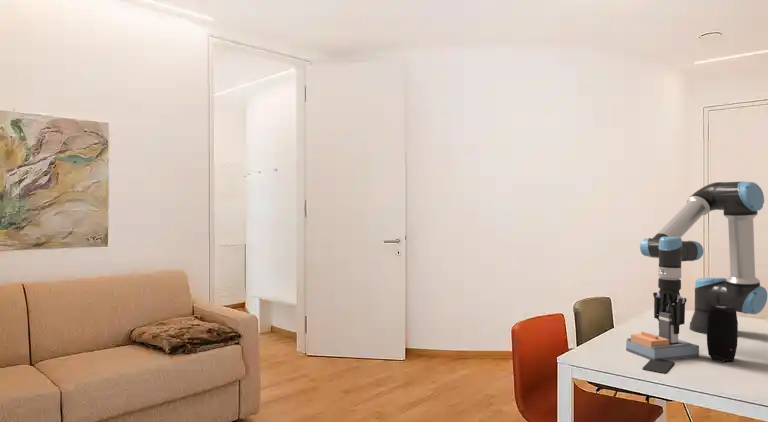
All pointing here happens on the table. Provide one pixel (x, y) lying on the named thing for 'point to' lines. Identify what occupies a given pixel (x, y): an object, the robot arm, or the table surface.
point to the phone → (658, 366)
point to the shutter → (649, 340)
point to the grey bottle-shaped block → (665, 325)
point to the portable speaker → (722, 332)
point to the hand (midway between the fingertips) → (668, 340)
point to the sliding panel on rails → (664, 350)
